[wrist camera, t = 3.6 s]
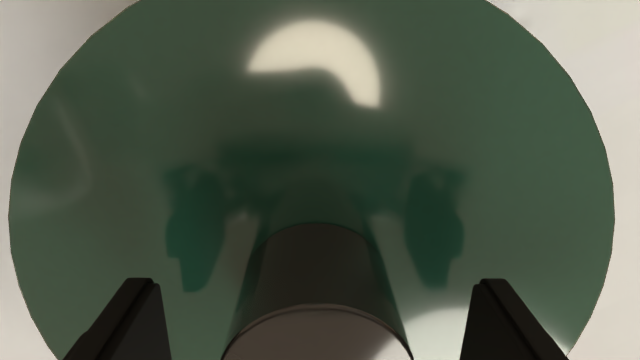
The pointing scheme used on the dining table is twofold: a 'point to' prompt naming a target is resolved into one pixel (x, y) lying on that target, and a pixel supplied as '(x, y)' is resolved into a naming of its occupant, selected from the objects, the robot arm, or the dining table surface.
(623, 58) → the dining table surface
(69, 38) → the dining table surface
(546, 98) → the lid
